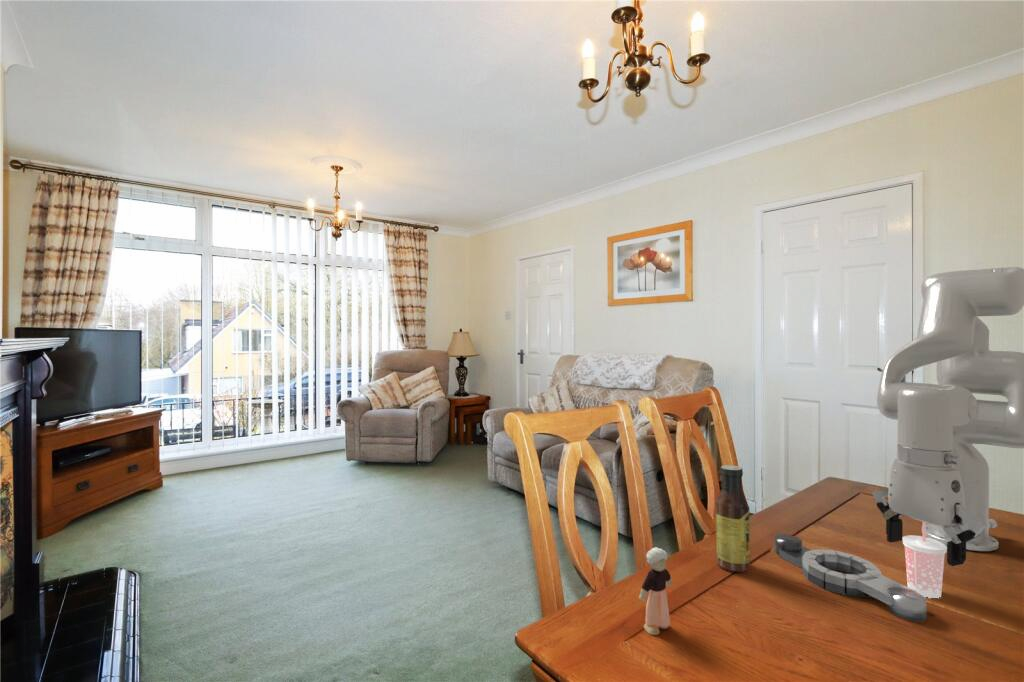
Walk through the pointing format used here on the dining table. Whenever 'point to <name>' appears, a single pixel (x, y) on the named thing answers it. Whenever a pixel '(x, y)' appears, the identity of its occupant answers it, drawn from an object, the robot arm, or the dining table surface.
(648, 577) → the grandmother figurine
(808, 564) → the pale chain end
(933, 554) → the beverage cup
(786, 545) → the dark grey ring piece
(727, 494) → the sauce bottle
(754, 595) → the dining table surface
